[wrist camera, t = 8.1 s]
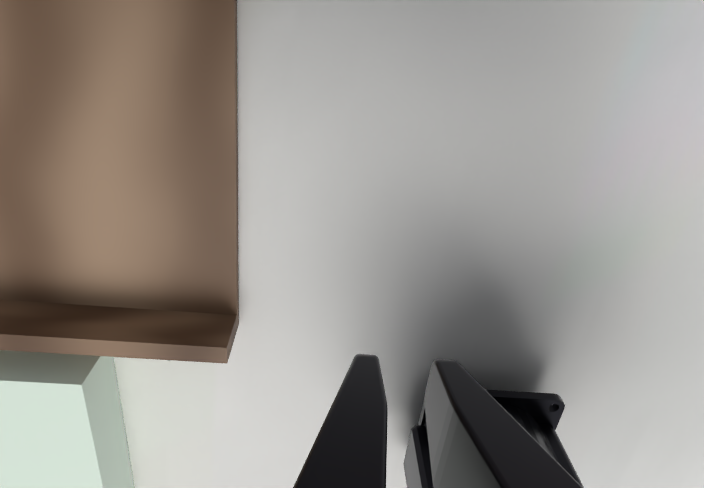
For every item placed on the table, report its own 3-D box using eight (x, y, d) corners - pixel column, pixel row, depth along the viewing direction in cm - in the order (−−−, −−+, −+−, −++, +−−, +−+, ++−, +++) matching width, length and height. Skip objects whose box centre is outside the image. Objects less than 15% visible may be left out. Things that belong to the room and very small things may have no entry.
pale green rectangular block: (114, 335, 22) (81, 385, 19) (138, 489, 27) (115, 546, 24) (-33, 326, 22) (-88, 375, 19) (19, 484, 27) (-19, 542, 24)
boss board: (236, -70, 15) (210, -86, 12) (238, 324, 22) (223, 377, 19) (-294, -136, 14) (-473, -173, 11) (-114, 301, 21) (-192, 354, 18)
